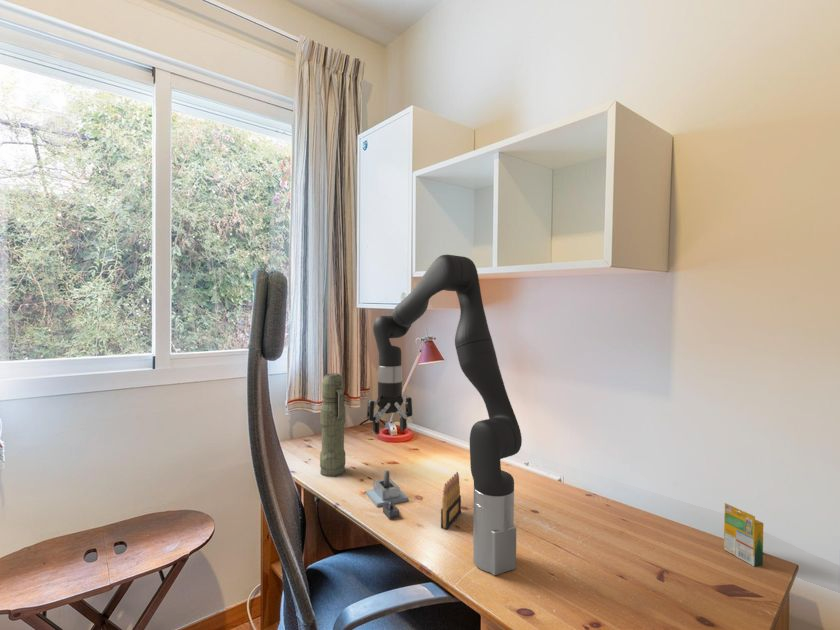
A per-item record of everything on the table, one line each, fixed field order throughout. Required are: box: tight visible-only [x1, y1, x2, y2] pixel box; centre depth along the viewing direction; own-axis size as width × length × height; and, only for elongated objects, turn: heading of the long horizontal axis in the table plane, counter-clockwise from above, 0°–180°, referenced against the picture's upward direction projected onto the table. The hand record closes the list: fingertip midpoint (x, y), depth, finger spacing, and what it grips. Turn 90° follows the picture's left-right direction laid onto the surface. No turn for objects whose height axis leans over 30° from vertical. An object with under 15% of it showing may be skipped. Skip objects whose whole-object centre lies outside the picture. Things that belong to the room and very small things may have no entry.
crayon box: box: [723, 502, 764, 567], centre depth 101 cm, size 7×3×12 cm, turn 17°
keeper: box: [365, 470, 409, 508], centre depth 132 cm, size 10×10×8 cm
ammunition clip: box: [440, 471, 462, 530], centre depth 118 cm, size 11×2×12 cm, turn 154°
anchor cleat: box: [382, 501, 400, 520], centre depth 120 cm, size 5×3×4 cm, turn 26°
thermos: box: [319, 373, 346, 478], centre depth 151 cm, size 9×12×35 cm
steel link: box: [373, 477, 401, 501], centre depth 132 cm, size 8×6×3 cm
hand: (389, 432), depth 131 cm, fingers open, 8 cm apart
